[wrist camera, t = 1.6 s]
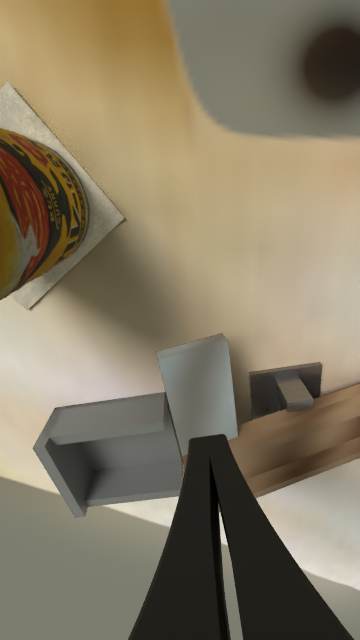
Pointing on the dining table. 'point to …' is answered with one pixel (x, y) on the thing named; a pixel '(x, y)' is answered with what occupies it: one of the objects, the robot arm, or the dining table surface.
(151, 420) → the tray
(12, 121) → the condiment
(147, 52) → the dining table surface
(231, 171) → the dining table surface
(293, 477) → the lever
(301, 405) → the fulcrum
